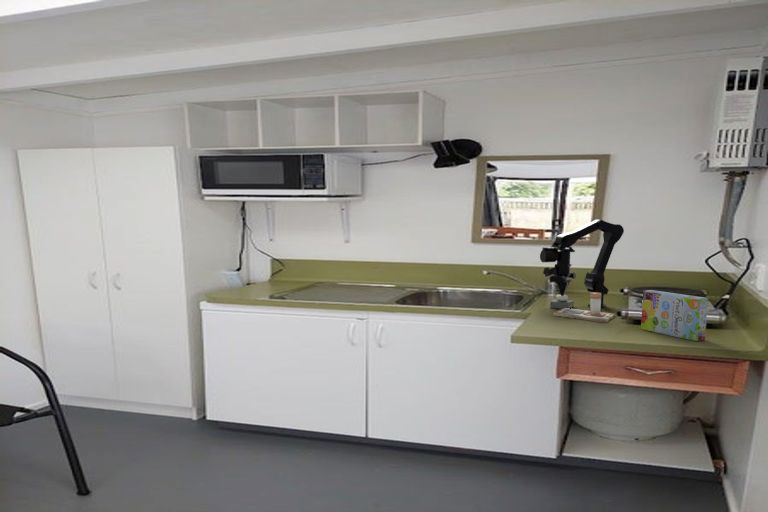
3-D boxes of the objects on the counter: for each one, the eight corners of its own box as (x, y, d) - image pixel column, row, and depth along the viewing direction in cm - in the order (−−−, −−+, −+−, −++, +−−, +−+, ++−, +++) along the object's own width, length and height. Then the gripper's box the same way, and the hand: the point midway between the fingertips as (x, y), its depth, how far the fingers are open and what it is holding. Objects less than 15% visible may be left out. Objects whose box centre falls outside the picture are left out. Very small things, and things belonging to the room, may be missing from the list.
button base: (556, 305, 238) (556, 298, 238) (573, 307, 234) (573, 300, 233) (550, 307, 232) (550, 301, 232) (567, 309, 227) (568, 303, 227)
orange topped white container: (591, 312, 215) (592, 291, 214) (601, 314, 212) (602, 292, 211) (588, 314, 212) (589, 293, 211) (599, 315, 209) (599, 294, 208)
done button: (558, 304, 236) (558, 294, 236) (569, 306, 233) (569, 295, 233) (554, 306, 232) (554, 295, 232) (565, 307, 229) (565, 296, 229)
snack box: (706, 340, 176) (709, 297, 175) (697, 342, 174) (699, 299, 172) (648, 327, 195) (650, 288, 193) (639, 329, 192) (641, 290, 190)
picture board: (564, 310, 227) (564, 307, 227) (614, 316, 214) (614, 313, 214) (553, 315, 215) (553, 312, 215) (605, 322, 203) (605, 319, 202)
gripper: (552, 259, 243) (551, 291, 245) (538, 262, 228) (537, 296, 230) (576, 260, 236) (575, 293, 238) (563, 264, 222) (562, 299, 223)
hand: (562, 295), depth 232 cm, fingers closed, pressing on done button
